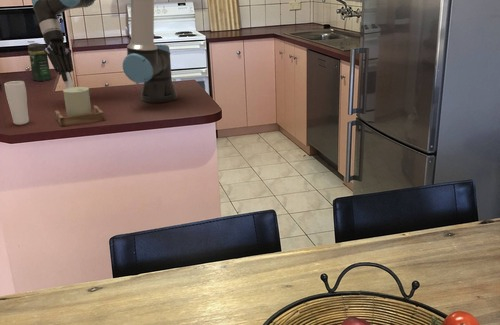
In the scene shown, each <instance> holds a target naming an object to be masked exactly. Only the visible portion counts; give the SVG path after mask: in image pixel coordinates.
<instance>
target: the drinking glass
mask: <svg viewBox="0 0 500 325" xmlns="http://www.w3.org/2000/svg"><path fill="white" fill-rule="evenodd" d="M3 86H4V91H5V94H6V95H5V97H6V99H7V102H8V107H9V110H10V113H11V114H10V115H11V117H12V122H13V124H14V125H19V126H20V125H21V126H22V125H25V124H28V123H29V122H30V118H29V110H28V97H27V88H26V83H25V81H24V80H15V81H14V80H13V81H11V80H10V81H7V82H5V83H4V84H3Z"/></svg>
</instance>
